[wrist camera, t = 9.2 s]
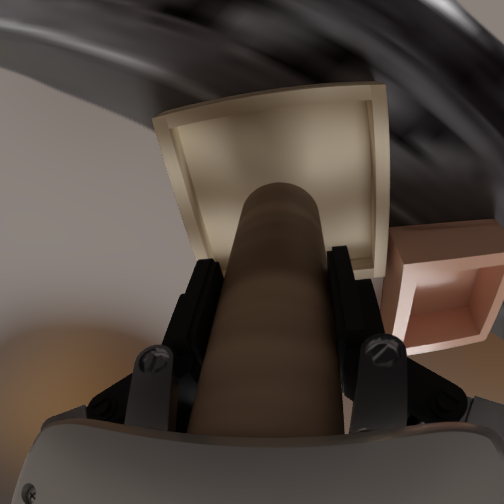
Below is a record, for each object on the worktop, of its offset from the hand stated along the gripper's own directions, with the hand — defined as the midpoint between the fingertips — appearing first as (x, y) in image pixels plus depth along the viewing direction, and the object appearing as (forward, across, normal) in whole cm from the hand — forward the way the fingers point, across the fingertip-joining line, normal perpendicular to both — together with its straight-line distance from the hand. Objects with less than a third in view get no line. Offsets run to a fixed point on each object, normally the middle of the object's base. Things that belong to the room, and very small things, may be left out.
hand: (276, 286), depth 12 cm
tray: (+9, 0, 0) cm, 9 cm away
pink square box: (+9, -11, +8) cm, 16 cm away
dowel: (+5, 0, 0) cm, 5 cm away
